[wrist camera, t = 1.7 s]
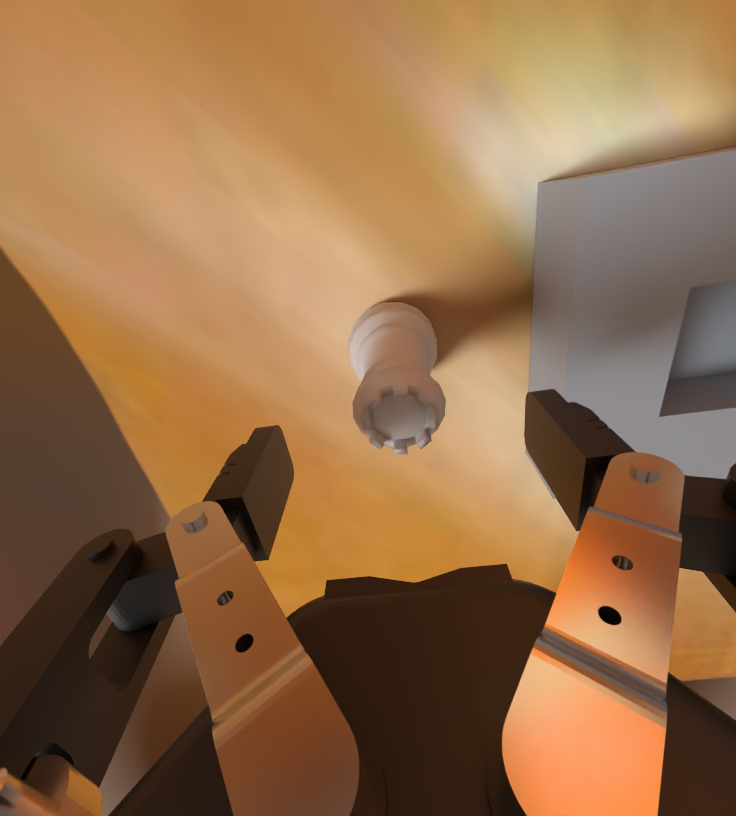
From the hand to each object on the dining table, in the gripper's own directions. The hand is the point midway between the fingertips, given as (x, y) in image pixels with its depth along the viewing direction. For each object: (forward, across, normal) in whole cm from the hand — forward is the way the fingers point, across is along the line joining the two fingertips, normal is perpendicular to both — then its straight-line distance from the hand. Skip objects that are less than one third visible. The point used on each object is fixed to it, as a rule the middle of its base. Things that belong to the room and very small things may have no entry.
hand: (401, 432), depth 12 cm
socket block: (+8, -14, +1) cm, 16 cm away
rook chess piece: (+8, 0, 0) cm, 8 cm away
